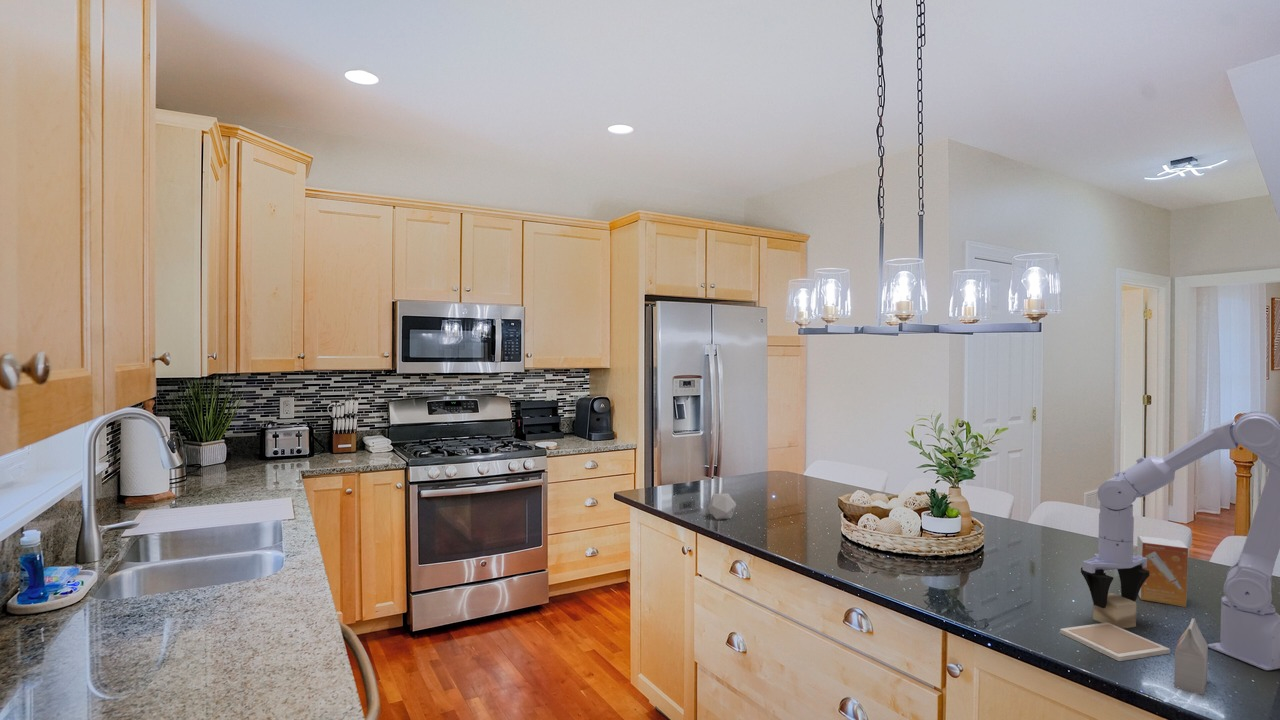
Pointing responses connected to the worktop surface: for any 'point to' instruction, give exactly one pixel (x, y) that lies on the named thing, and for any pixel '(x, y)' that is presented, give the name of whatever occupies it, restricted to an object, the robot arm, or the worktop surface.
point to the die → (722, 506)
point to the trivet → (1114, 641)
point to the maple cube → (1116, 612)
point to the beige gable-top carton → (1191, 660)
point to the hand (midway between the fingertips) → (1114, 604)
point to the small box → (1164, 570)
